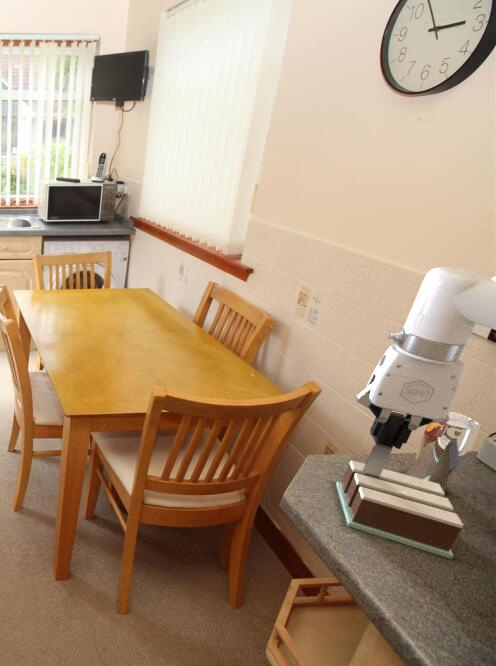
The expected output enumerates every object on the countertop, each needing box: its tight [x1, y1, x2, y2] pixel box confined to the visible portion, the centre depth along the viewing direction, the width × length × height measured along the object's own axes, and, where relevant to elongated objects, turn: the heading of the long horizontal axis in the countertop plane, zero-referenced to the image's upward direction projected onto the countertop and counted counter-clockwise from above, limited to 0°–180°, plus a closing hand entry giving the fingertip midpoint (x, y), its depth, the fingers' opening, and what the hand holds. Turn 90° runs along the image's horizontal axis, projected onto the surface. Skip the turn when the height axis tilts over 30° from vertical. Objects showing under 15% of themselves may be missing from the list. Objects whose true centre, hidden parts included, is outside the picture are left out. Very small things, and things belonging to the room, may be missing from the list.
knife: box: [361, 410, 406, 479], centre depth 83 cm, size 2×1×14 cm, turn 64°
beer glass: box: [404, 410, 482, 493], centre depth 90 cm, size 7×7×15 cm
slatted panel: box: [335, 459, 464, 560], centre depth 83 cm, size 14×12×6 cm
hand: (385, 441), depth 82 cm, fingers closed on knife
